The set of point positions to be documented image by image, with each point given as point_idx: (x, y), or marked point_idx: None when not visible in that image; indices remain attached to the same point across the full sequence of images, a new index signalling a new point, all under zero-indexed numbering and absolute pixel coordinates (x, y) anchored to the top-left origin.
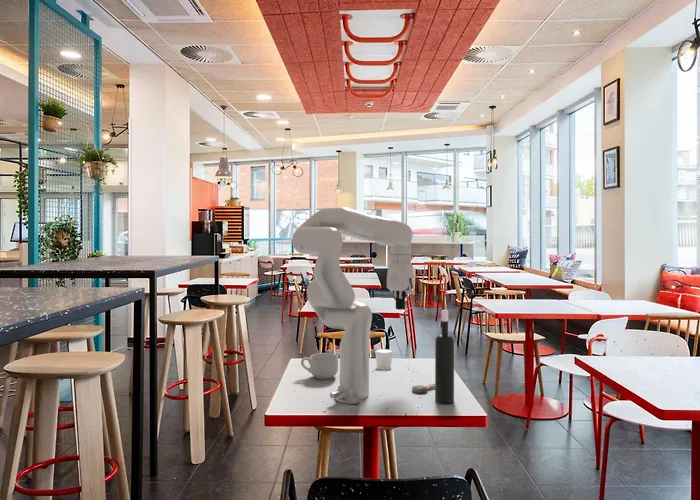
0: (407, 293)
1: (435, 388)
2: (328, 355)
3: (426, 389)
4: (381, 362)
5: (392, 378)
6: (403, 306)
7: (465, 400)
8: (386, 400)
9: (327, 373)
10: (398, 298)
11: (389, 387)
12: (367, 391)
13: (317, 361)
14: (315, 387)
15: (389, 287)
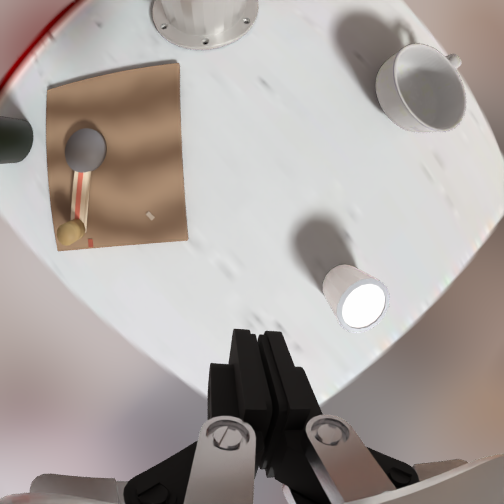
0: (79, 488)
1: (5, 119)
2: (446, 126)
3: (66, 156)
4: (344, 272)
5: (252, 217)
6: (209, 385)
7: (9, 209)
8: (130, 54)
9: (380, 68)
10: (283, 432)
11: (196, 138)
12: (163, 8)
13: (414, 43)
14: (347, 17)
15: (490, 477)
